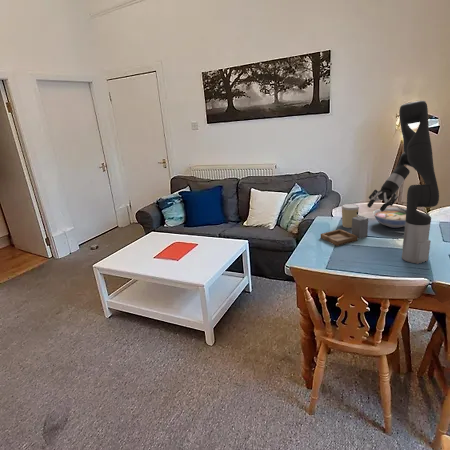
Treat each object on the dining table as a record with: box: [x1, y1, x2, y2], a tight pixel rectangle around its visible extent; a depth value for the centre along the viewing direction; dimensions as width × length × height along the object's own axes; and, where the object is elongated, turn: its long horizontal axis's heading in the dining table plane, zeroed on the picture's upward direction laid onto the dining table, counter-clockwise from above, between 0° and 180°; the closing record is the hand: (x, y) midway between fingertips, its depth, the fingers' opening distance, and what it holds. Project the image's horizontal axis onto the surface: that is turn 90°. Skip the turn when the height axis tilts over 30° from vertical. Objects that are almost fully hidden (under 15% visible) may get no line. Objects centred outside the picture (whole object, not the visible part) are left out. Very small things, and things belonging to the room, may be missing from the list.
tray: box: [320, 228, 359, 247], centre depth 168 cm, size 13×13×2 cm
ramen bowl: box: [372, 205, 406, 229], centre depth 179 cm, size 25×23×8 cm
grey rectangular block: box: [351, 214, 369, 240], centre depth 169 cm, size 6×6×11 cm
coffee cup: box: [341, 203, 360, 229], centre depth 184 cm, size 9×9×12 cm
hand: (374, 208), depth 169 cm, fingers open, 8 cm apart
